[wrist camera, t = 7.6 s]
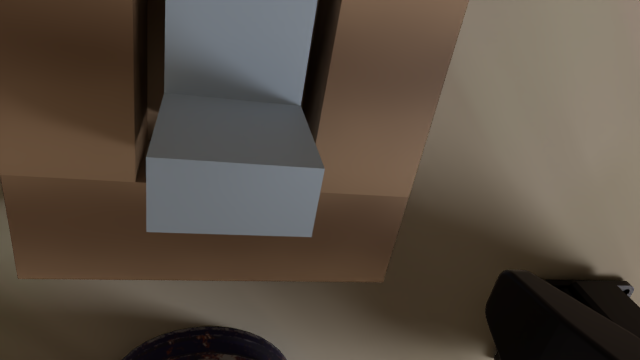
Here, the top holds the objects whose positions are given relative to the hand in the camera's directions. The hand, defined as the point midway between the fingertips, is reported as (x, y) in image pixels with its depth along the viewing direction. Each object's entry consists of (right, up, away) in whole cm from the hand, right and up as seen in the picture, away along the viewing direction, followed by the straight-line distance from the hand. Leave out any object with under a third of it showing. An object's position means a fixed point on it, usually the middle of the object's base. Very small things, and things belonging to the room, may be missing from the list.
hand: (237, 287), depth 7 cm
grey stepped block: (-2, +6, +9) cm, 11 cm away
